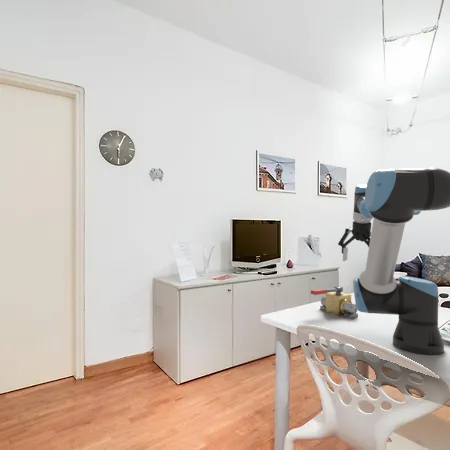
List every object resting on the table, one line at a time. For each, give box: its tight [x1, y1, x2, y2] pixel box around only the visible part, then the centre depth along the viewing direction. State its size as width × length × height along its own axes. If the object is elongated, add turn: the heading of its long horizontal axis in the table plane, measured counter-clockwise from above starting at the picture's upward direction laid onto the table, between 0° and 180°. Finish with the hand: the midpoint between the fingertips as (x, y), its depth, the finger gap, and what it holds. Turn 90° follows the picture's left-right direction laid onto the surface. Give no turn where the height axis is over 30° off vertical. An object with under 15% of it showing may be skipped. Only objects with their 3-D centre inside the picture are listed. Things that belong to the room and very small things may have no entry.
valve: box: [320, 291, 359, 319], centre depth 154 cm, size 8×18×10 cm, turn 29°
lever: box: [310, 286, 344, 296], centre depth 151 cm, size 18×4×2 cm, turn 119°
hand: (358, 264), depth 149 cm, fingers open, 13 cm apart
